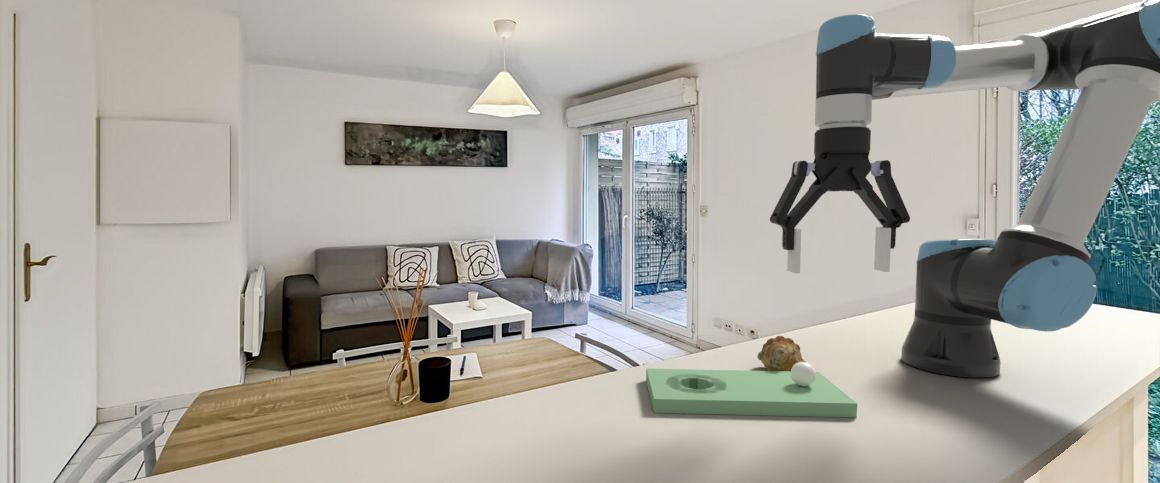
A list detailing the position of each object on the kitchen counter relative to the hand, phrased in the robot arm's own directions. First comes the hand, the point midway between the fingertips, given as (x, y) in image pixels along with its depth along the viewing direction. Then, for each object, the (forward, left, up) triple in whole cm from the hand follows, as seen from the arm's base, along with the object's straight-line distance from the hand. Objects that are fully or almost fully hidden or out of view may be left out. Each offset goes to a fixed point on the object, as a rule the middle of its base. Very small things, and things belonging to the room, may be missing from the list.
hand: (837, 271), depth 85 cm
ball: (+5, +1, -16) cm, 16 cm away
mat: (+14, +1, -19) cm, 24 cm away
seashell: (+4, -12, -20) cm, 23 cm away
